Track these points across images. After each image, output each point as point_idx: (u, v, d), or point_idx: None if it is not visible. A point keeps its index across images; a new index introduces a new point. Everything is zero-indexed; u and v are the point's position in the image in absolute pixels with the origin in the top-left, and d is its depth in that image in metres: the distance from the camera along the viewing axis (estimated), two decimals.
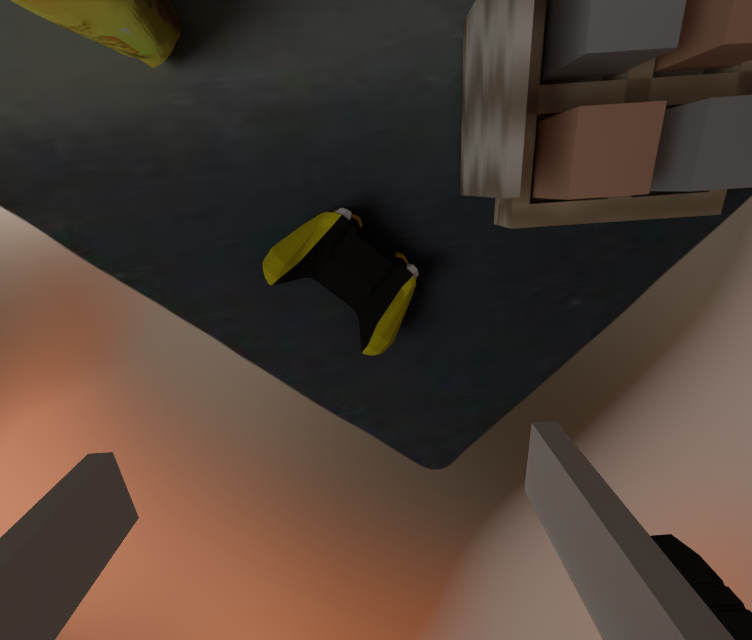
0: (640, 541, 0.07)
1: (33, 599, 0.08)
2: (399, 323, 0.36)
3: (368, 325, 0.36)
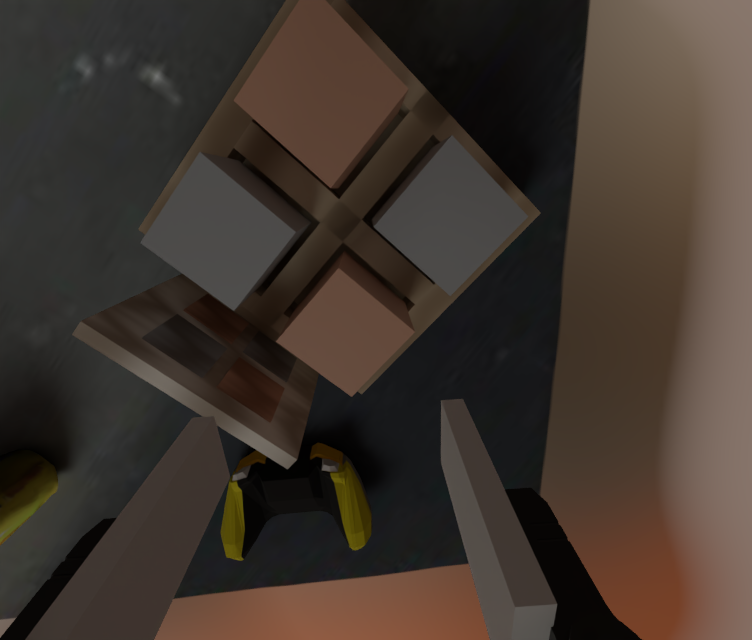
0: (492, 489, 0.09)
1: (175, 531, 0.10)
2: (361, 505, 0.35)
3: (339, 524, 0.35)
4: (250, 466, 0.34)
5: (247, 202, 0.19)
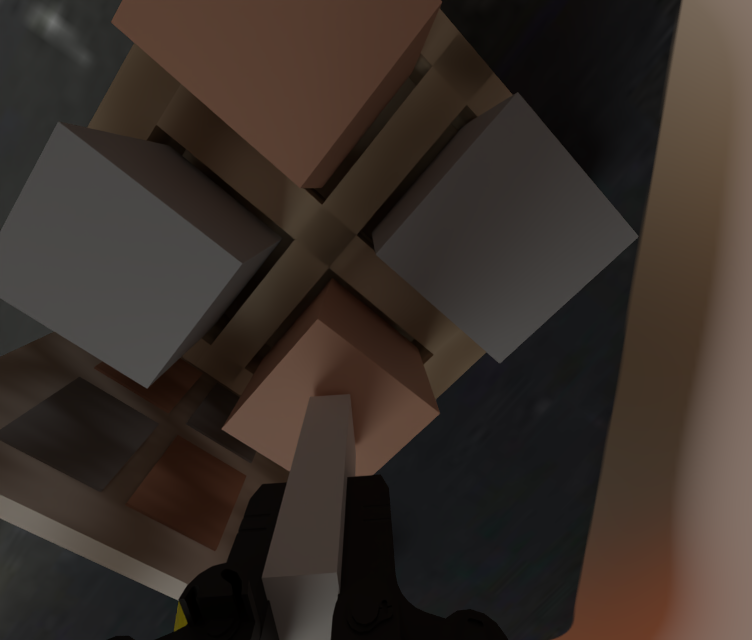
0: (333, 475, 0.09)
1: None
2: None
3: None
4: None
5: (154, 213, 0.11)
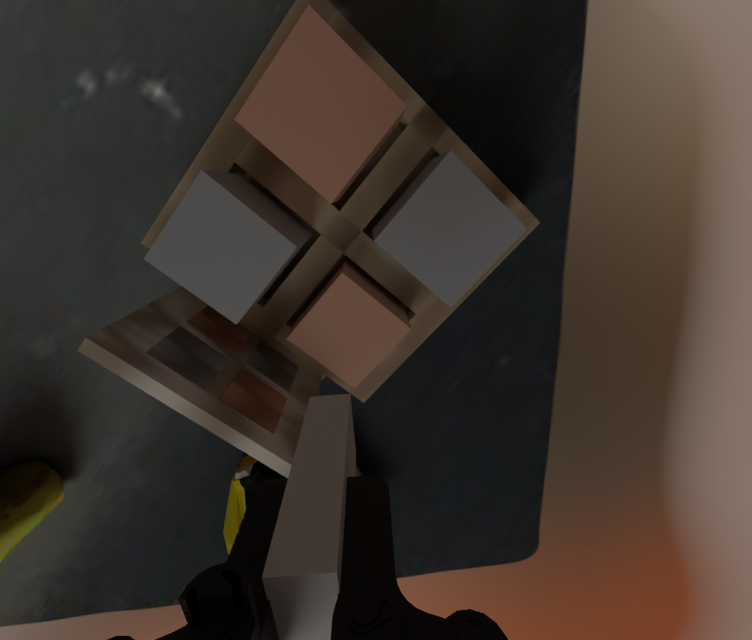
0: (333, 475, 0.09)
1: None
2: None
3: None
4: (252, 464, 0.34)
5: (248, 218, 0.19)
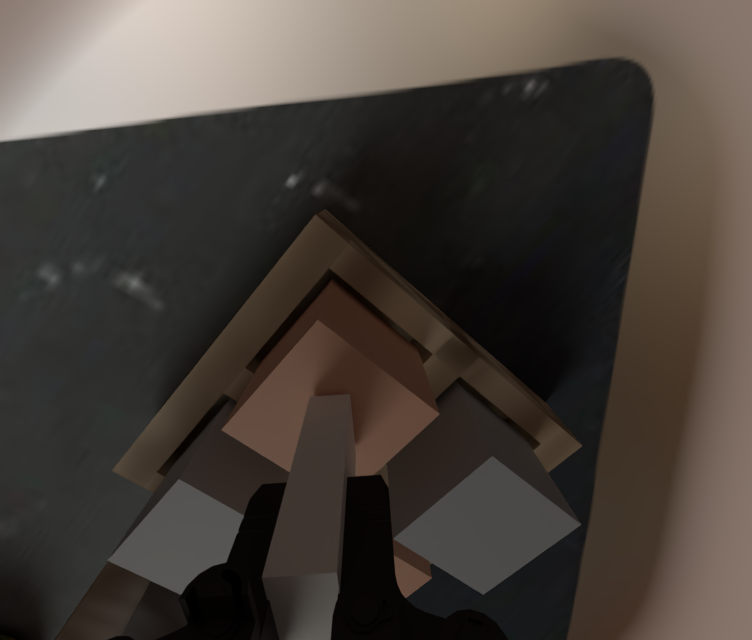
0: (333, 475, 0.09)
1: None
2: None
3: None
4: None
5: (238, 522, 0.15)
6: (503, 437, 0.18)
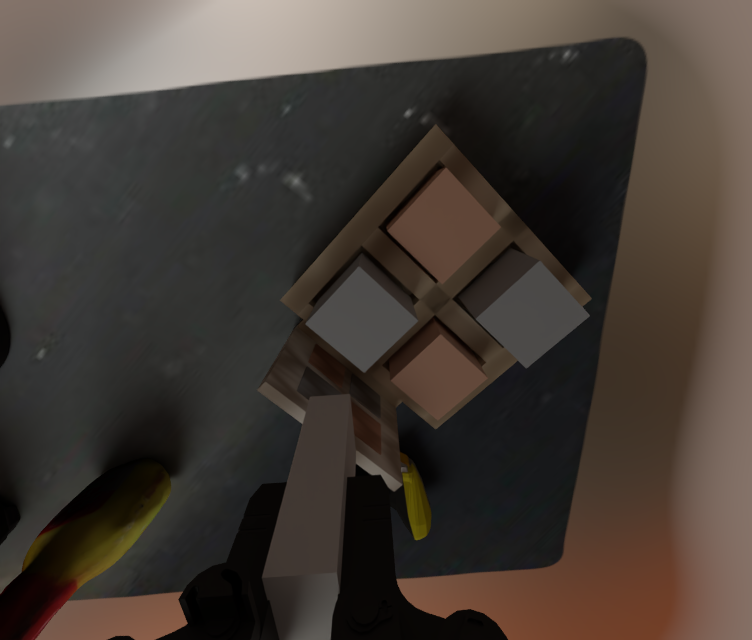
0: (333, 475, 0.09)
1: None
2: (424, 501, 0.41)
3: (404, 517, 0.41)
4: None
5: (386, 300, 0.26)
6: None
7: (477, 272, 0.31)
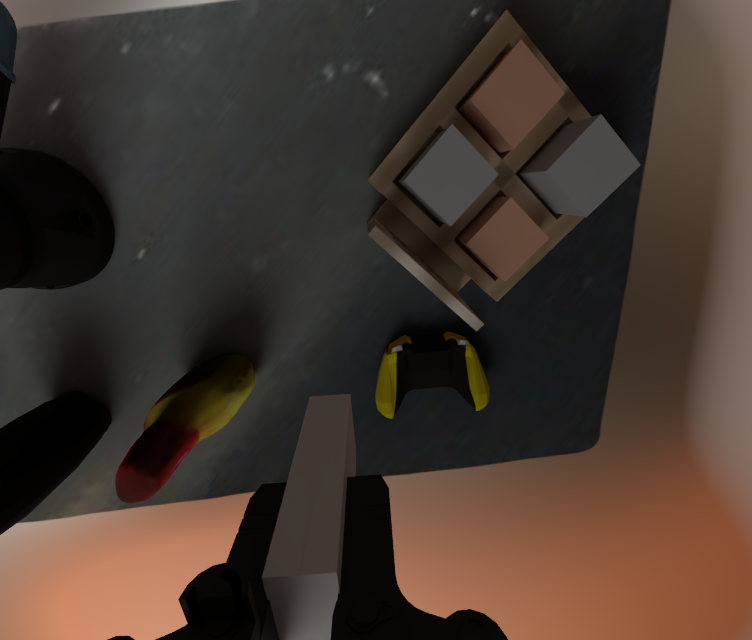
0: (333, 475, 0.09)
1: None
2: (483, 375, 0.46)
3: (465, 391, 0.47)
4: (402, 344, 0.45)
5: (473, 155, 0.31)
6: None
7: (537, 147, 0.36)
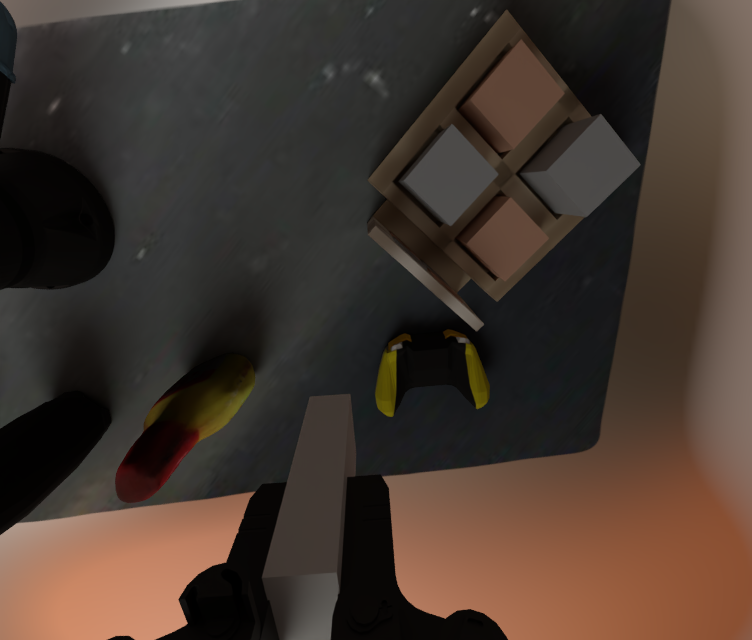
0: (333, 475, 0.09)
1: None
2: (483, 373, 0.46)
3: (465, 389, 0.46)
4: (401, 342, 0.45)
5: (473, 155, 0.31)
6: None
7: (537, 147, 0.36)
